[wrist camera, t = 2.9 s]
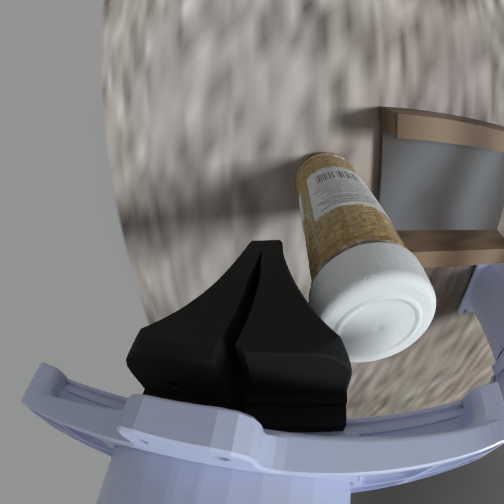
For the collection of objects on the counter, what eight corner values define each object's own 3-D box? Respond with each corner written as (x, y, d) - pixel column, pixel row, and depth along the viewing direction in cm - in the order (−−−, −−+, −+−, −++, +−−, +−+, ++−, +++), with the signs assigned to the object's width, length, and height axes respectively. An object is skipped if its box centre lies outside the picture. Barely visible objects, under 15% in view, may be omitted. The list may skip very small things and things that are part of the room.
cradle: (511, 128, 13) (537, 141, 10) (489, 240, 19) (507, 262, 16) (379, 106, 16) (397, 113, 13) (373, 242, 22) (383, 269, 19)
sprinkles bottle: (288, 201, 21) (294, 362, 10) (303, 143, 18) (342, 265, 7) (346, 214, 21) (398, 369, 10) (364, 159, 18) (463, 288, 7)
